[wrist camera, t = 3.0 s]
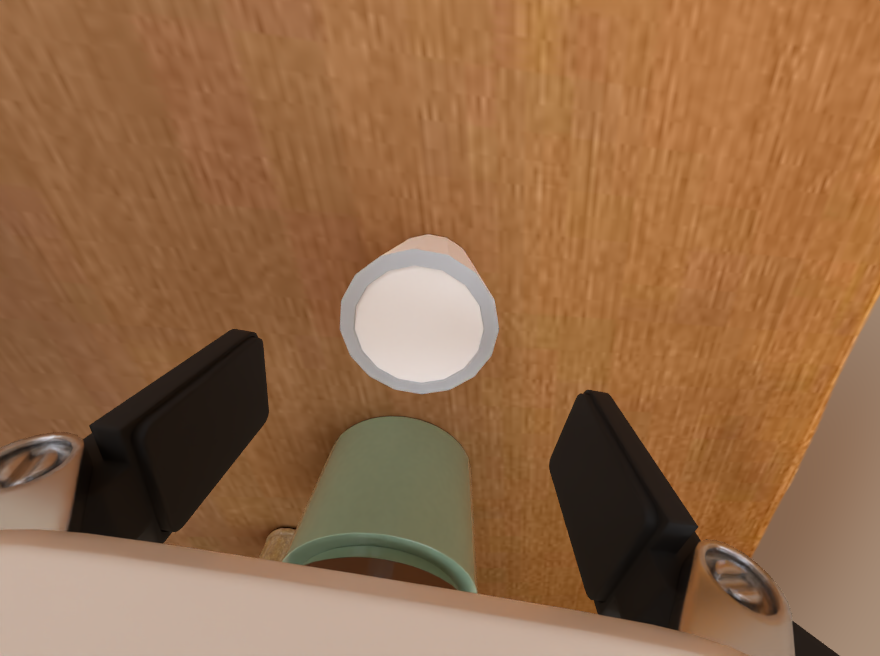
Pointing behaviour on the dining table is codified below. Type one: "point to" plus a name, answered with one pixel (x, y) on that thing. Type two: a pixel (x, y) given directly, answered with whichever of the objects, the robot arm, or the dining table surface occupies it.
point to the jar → (392, 507)
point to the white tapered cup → (420, 317)
